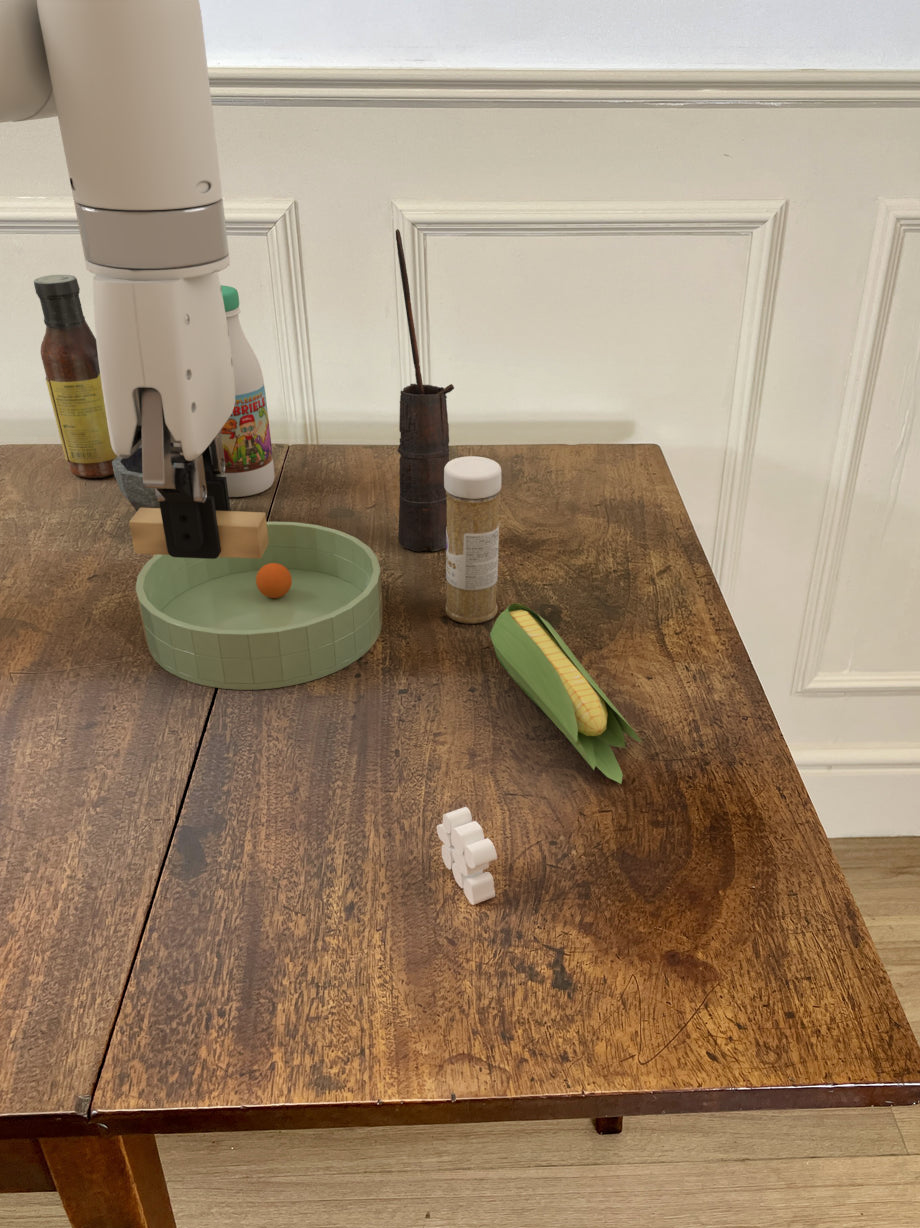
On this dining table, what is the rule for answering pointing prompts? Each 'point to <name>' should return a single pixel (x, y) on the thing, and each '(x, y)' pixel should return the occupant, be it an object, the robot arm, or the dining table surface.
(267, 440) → the milk bottle
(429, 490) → the butter churn
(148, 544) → the wooden block
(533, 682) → the edible corn
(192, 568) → the bowl
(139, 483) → the mortar and pestle
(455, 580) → the spice jar
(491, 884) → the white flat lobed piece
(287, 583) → the ball
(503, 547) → the dining table surface
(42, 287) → the sauce bottle
